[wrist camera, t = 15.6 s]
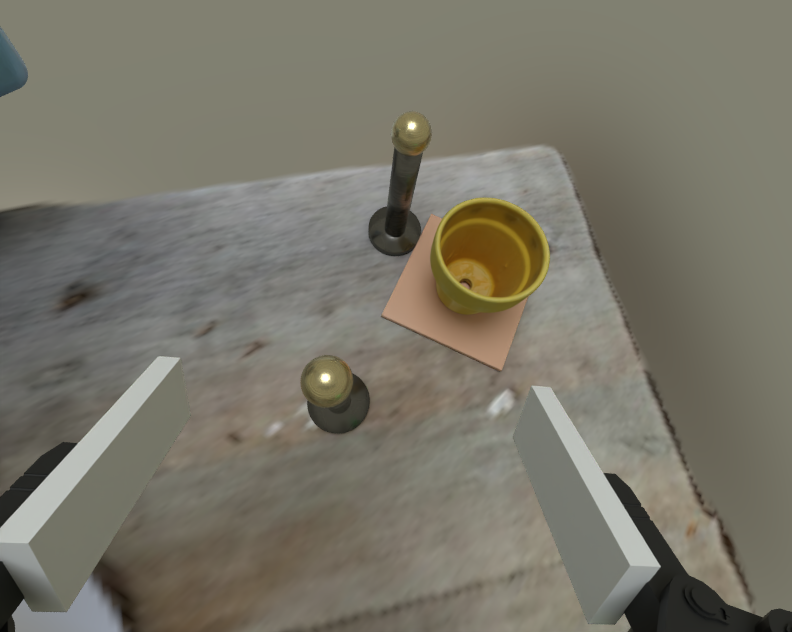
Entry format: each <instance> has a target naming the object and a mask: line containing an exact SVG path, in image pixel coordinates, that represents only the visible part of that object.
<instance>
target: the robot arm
mask: <svg viewBox="0 0 792 632" xmlns="http://www.w3.org/2000/svg"><path fill="white" fill-rule="evenodd" d="M27 78H28V72H27V68H26V66H25V63H24V62H23V60H22V58H21V57H20V55H19V54H18V52H17V51H16V49H15V47H14V46H13V44H12V43H11V41H10V40H9V38H8V37H7V35H6V34H5V32H4V31H3V30H2V28H1V26H0V97H1V96H4V95H6V94H8V93H10V92H13V91H15V90H17V89H20V88H21V87H22V86H24V85H25V83H26V81H27ZM190 416H191V414H190V408H189V402H188V397H187V391H186V385H185V379H184V374H183V368H182V362H181V358H175V357H162V356H158V357H157V358H156V359H155V360H154V362H153V363H152V364H151V365H150V366H149V367H148V368H147V369H146V370H145V371H144V372H143V374H142V375H141V376H140V377H139V378H138V379H137V380H136V381H135V382H134V383H133V384H132V385H131V387H130V388H129V389H128V390H127V391H126V392H125V393H124V394H123V395H122V396H121V397H120V398H119V400H118V401H117V402H116V403H115V404H114V405H113V406H112V407H111V408H110V409H109V410H108V412H107V413H106V414H105V415H104V416H103V417H102V418H101V419H100V420H99V421H98V422H97V423H96V425H95V426H94V427H93V428H92V429H91V430H90V431H89V432H88V433H87V434H86V435H85V436H84V438H83V439H82V440H81V441H80V442H79V443H68V442H63V443H61V444H59V445H58V446H56V447H55V448H53V449H52V450H50V451H48V452H47V453H45V454H44V455H42V456H41V457H40V458H39V459H38V460H37V461H36V462H35V463H34V464H33V465H32V466H31V467H30V468H29V469H28V470H27V471H26V472H25V473H24V476H21V477H20V478H19V479H18V480H17V481H16V482H15V483H14V484H13V485H12V486H11V487H10V490H9V491H6V492H5V493H4V494H3V495H2V496H1V497H0V632H15V624H14V620H13V618H12V614H13V612H14V611H15V610H16V608H17V607H18V606H19V604H20V603H21V602H22V600H23V599H24V600H25V601H26V603H27V604H28V606H29V607H30V609H31V610H32V611H35V612H36V611H37V612H67V611H68V609H69V608H70V606H71V604H72V603H73V601H74V600H75V598H76V597H77V595H78V593H79V592H80V590H81V589H82V587H83V585H84V584H85V582H86V581H87V579H88V578H89V576H90V574H91V573H92V571H93V570H94V568H95V566H96V565H97V563H98V562H99V560H100V559H101V557H102V555H103V554H104V552H105V551H106V549H107V547H108V546H109V544H110V543H111V541H112V540H113V538H114V536H115V535H116V533H117V532H118V530H119V529H120V527H121V525H122V524H123V522H124V521H125V519H126V517H127V516H128V514H129V513H130V511H131V510H132V508H133V506H134V505H135V503H136V502H137V500H138V498H139V497H140V495H141V494H142V492H143V491H144V489H145V487H146V486H147V484H148V483H149V481H150V480H151V478H152V476H153V475H154V473H155V472H156V470H157V468H158V467H159V465H160V464H161V462H162V461H163V459H164V457H165V456H166V454H167V453H168V451H169V449H170V448H171V446H172V445H173V443H174V442H175V440H176V438H177V437H178V435H179V434H180V432H181V431H182V429H183V427H184V426H185V424H186V423H187V421H188V419H189V418H190ZM513 439H514V442H515V444H516V447H517V449H518V452H519V454H520V457H521V459H522V462H523V464H524V467H525V469H526V472H527V474H528V476H529V479H530V481H531V484H532V486H533V489H534V491H535V494H536V496H537V499H538V501H539V504H540V506H541V509H542V511H543V514H544V516H545V519H546V521H547V524H548V526H549V528H550V531H551V533H552V536H553V538H554V541H555V543H556V546H557V548H558V551H559V553H560V556H561V558H562V561H563V563H564V566H565V568H566V571H567V573H568V575H569V578H570V580H571V583H572V585H573V588H574V590H575V593H576V595H577V598H578V600H579V603H580V605H581V608H582V610H583V613H584V615H585V618H586V620H587V622H588V624H614V625H615V624H616V623H617V621H618V620H619V619H620V618H621V616H622V615H623V614H624V613H625V615H626V618H627V620H628V622H629V624H630V626H631V628H630V629H629V631H628V632H792V612H790V611H786V610H783V609H774V610H771V611H770V612H769V613H768V614H766V615H765V616H764V617H760V616H757V615H755V614H752V613H749V612H746V611H744V610H741V609H738V608H736V607H733V606H730V605H728V604H726V603H725V602H724V601H723V600H722V599H721V598H720V596H719V595H718V594H717V593H716V592H715V591H714V590H713V589H711V588H710V587H709V586H707V585H706V584H705V583H703V582H702V581H700V580H698V579H696V578H693V577H691V576H689V575H688V573H687V572H686V571H685V569H684V568H683V566H682V565H681V563H680V562H679V560H678V559H677V557H676V556H675V554H674V553H673V551H672V550H671V548H670V547H669V545H668V544H667V542H666V541H665V539H664V538H663V536H662V535H661V533H660V532H659V530H658V529H657V527H656V526H655V524H654V523H653V521H651V520H650V517H649V515H648V514H647V512H646V511H645V509H644V508H643V507H641V503H640V502H639V500H638V499H637V497H636V496H635V494H634V493H633V491H632V490H631V488H630V487H629V486H628V485H627V484H626V483H624V482H623V481H622V480H621V479H620V478H619V477H618V476H617V475H616V474H609V473H603V472H602V471H601V469H600V467H599V466H598V464H597V462H596V461H595V459H594V458H593V456H592V454H591V453H590V451H589V449H588V448H587V446H586V445H585V443H584V441H583V440H582V438H581V436H580V435H579V433H578V432H577V430H576V428H575V427H574V425H573V423H572V422H571V420H570V419H569V417H568V415H567V414H566V412H565V410H564V409H563V407H562V406H561V404H560V402H559V401H558V399H557V397H556V396H555V394H554V393H553V391H552V389H551V388H550V387H541V386H531V388H530V391H529V394H528V396H527V399H526V402H525V405H524V407H523V410H522V413H521V416H520V418H519V421H518V424H517V426H516V429H515V432H514V435H513Z"/></svg>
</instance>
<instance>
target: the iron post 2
mask: <svg viewBox="0 0 792 632" xmlns="http://www.w3.org/2000/svg"><path fill="white" fill-rule="evenodd" d="M431 136H432V130H431V126H430V123H429V121H428V120H427V119H426V117H425V116H423V115H422V114H420V113H418V112H414V111H409V112H405V113H403V114H401V115H400V116H399V117H398V118H397V119H396V120H395V122H394V124H393V126H392V130H391V138H392V142H393V145H394V155H393V163H392V171H391V179H390V187H389V195H388V203H387V207H383V208H381V209H379V210H378V211H377V212H375V213H374V215H373V216H372V217H371V219H370V222H369V238H370V241H371V243H372V244H373V246H374V247H375V248H376V249H377V250H379V251H380V252H382V253H384V254H386V255H391V256H400V255H404V254H407V253H409V252H410V251H412V250H413V249H414V248H415V246H416V244H417V242H418V240H419V237H420V234H421V227H420V223H419V221H418V219H417V217H416V216H415V215H414V214H413V213H412V212H411V211H410V207H411V203H412V198H413V194H414V189H415V185H416V180H417V176H418V172H419V167H420V163H421V158H422V154H423V151H425V150H426V149H427V147H428V145H429V144H430V141H431Z"/></svg>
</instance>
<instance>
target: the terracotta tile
mask: <svg viewBox="0 0 792 632" xmlns="http://www.w3.org/2000/svg"><path fill="white" fill-rule="evenodd" d="M441 220H442V219H441V218H439V217H437V216H435V215H433V214H431V216H430V218H429V220H428V222H427V224H426V226H425V228H424V230H423V232H422V234H421V236H420V238H419V240H418V242H417V244H416V246H415V248H414V250H413V252H412V254H411V256H410V258H409V260H408V262H407V264H406V266H405V268H404V271H403V273H402V275H401V277H400V279H399V281H398V283H397V285H396V287H395V289H394V291H393V293H392V295H391V297H390V299H389V301H388V303H387V305H386V307H385V309H384V311H383V313H382V315H381V317H383V318H385V319H388V320H390V321H392V322H394V323H396V324H398V325H401V326H403V327H405V328H407V329H409V330H411V331H414V332H416V333H418V334H420V335H422V336H424V337H427V338H429V339H431V340H433V341H435V342H437V343H440V344H442V345H444V346H446V347H448V348H450V349H453V350H455V351H457V352H459V353H461V354H463V355H465V356H468V357H470V358H472V359H474V360H476V361H478V362H481V363H483V364H485V365H487V366H489V367H491V368H494V369H496V370H498V371H502V368H503V366H504V363H505V360H506V357H507V354H508V352H509V349H510V346H511V343H512V340H513V338H514V335H515V332H516V329H517V326H518V324H519V321H520V318H521V315H522V312H523V310H524V307H525V304H526V301H527V298H528V297H527V298H526V299H524V300H523V301H521V302H520V303H518V304H517V305H515V306H514V307H512V308H509V309H507V310H504V311H500V312H494V313H483V312H480V313H476V314H470V315H465V314H459V313H456V312H454V311H452V310H450V309H449V308H447V307H446V306H445V305H444V304H443V303H442V301H441V300H440V298H439V296H438V293H437V289H436V280H435V278H434V276H433V273H432V269H431V263H430V253H431V247H432V243H433V239H434V236H435V233H436V230H437V228H438V226H439V224H440V222H441ZM460 283H461V284H462V285H463V286H465V287H466V288H467V289H470V284H469V283H468V282H466V281H461V282H460Z"/></svg>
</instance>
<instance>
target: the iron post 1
mask: <svg viewBox="0 0 792 632" xmlns="http://www.w3.org/2000/svg"><path fill="white" fill-rule="evenodd" d="M301 389H302V392H303V394H304V396H305V397H306V399H307V400H308V401H307V405H308V411H309V414H310V417H311V418H312V420H313V421H314V423H315V424H316V425H317V426H318V427H320V428H321V429H323V430H325V431H327V432H331V433H345V432H348V431H350V430H352V429H354V428H356V427H357V426H358V425H359V424H360V423H361V422H362V421H363V419H364V418H365V416H366V414H367V411H368V408H369V393H368V390H367V388H366V386H365V384H364V383H363V381H362V380H361V379H360V378H359V377H357V376H356V375H354V374H353V373H352V372H351V369H350V368H349V366H348V365H347V363H346V362H344V361H343V360H342V359H340V358H338V357H336V356H331V355H324V356H319V357H317V358H315V359H313V360H312V361H310V362H309V363H308V364H307V365H306V367H305V368H304V370H303V372H302V375H301Z"/></svg>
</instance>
